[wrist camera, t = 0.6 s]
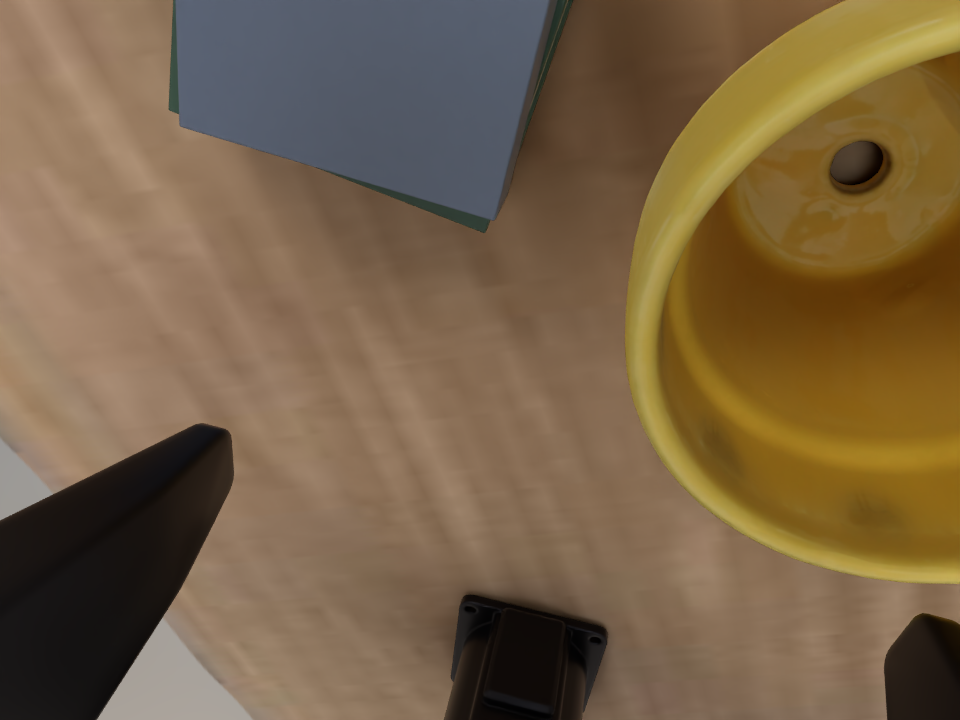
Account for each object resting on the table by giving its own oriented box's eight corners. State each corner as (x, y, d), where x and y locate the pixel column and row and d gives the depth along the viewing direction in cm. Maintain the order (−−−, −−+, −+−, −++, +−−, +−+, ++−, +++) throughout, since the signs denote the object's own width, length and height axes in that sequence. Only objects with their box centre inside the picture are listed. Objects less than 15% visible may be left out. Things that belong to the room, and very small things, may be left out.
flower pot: (1154, -120, 15) (1689, -84, 7) (1031, 319, 20) (1253, 613, 13) (633, -41, 18) (601, 49, 10) (648, 328, 23) (635, 575, 15)
